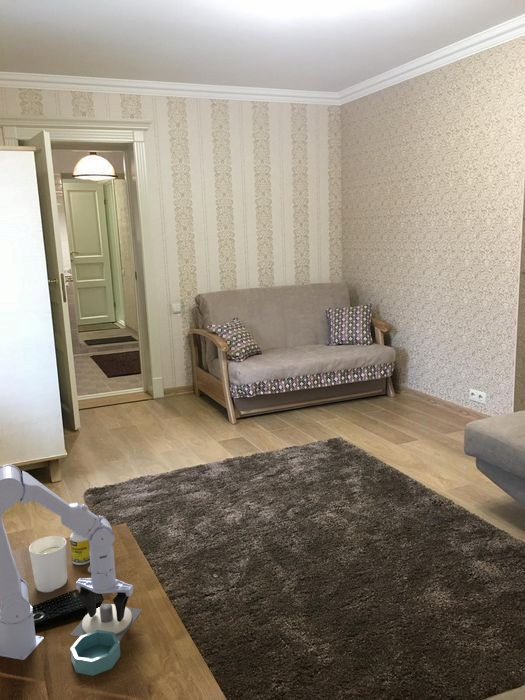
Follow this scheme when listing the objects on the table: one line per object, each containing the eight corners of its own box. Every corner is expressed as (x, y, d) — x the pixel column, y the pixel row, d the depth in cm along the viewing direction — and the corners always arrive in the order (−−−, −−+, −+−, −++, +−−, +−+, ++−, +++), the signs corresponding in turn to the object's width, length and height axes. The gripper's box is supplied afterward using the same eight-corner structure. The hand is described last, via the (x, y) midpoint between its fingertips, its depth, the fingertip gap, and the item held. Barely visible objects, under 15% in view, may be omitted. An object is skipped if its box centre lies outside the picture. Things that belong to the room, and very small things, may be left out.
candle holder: (25, 590, 164) (20, 550, 162) (50, 571, 173) (46, 533, 171) (53, 597, 161) (49, 556, 158) (77, 578, 170) (73, 539, 167)
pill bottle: (68, 565, 176) (65, 531, 174) (76, 554, 182) (73, 521, 180) (89, 566, 176) (86, 531, 174) (96, 554, 182) (93, 521, 180)
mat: (69, 637, 145) (69, 634, 145) (97, 604, 157) (97, 602, 157) (118, 644, 142) (118, 642, 141) (142, 611, 154) (142, 609, 154)
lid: (72, 633, 145) (71, 619, 144) (97, 604, 156) (96, 590, 156) (117, 640, 142) (116, 625, 141) (139, 610, 153) (138, 596, 153)
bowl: (64, 672, 133) (62, 656, 132) (88, 642, 142) (86, 628, 142) (105, 680, 130) (104, 663, 130) (126, 649, 140) (125, 634, 139)
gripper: (137, 561, 148) (140, 611, 151) (84, 555, 152) (89, 603, 155) (123, 577, 142) (127, 628, 144) (69, 570, 145) (74, 620, 148)
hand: (106, 617), depth 149 cm, fingers open, 7 cm apart
